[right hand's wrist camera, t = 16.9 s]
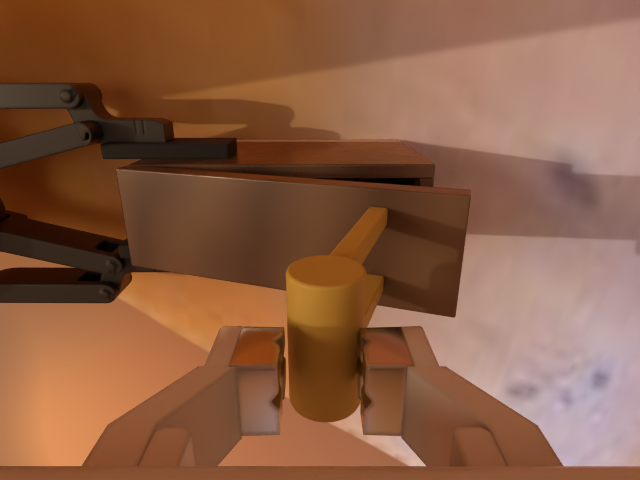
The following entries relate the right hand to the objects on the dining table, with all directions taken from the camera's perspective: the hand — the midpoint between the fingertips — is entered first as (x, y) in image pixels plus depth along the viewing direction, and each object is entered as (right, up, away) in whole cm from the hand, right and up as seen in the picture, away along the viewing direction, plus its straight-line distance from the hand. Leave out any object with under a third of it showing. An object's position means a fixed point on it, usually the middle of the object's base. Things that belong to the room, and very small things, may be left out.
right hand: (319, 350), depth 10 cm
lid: (-2, +3, +8) cm, 9 cm away
